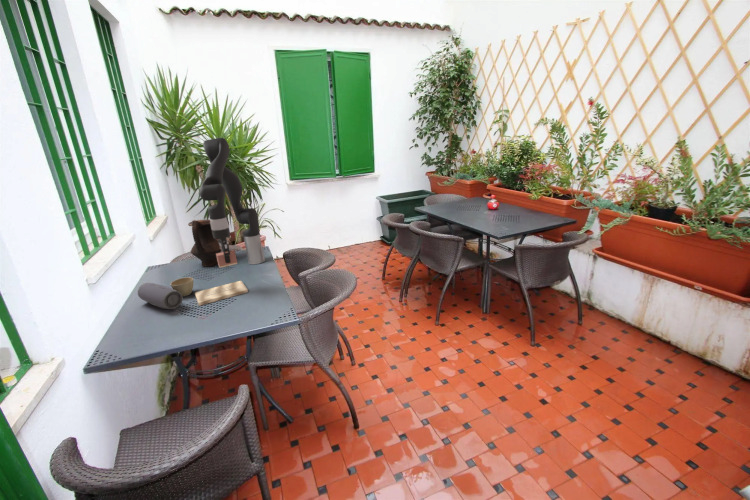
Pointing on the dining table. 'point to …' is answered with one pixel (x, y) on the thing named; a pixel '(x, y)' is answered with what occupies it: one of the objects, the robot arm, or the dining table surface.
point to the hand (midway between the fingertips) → (227, 261)
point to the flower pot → (183, 285)
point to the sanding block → (222, 259)
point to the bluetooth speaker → (160, 295)
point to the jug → (204, 243)
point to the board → (220, 292)
